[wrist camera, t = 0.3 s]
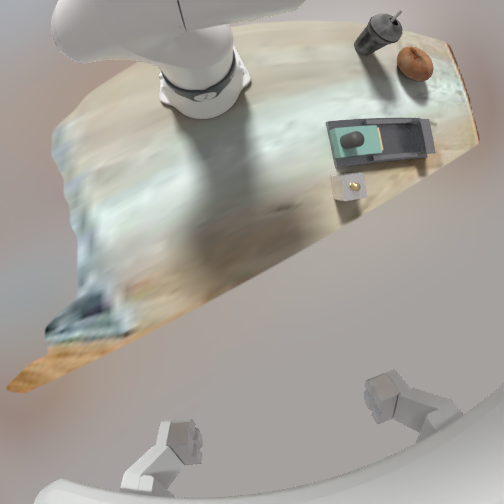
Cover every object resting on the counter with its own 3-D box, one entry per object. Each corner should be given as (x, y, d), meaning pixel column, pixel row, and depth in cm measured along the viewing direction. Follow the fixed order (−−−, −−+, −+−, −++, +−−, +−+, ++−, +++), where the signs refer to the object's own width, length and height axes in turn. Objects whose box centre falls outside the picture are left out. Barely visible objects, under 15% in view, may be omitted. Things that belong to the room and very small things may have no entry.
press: (325, 122, 51) (336, 116, 45) (417, 118, 51) (432, 115, 46) (335, 167, 54) (346, 167, 48) (425, 157, 54) (440, 157, 48)
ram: (329, 130, 50) (344, 123, 43) (372, 127, 51) (391, 121, 43) (335, 158, 52) (351, 155, 44) (377, 153, 52) (397, 151, 45)
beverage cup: (379, 60, 47) (426, 30, 28) (354, 59, 47) (398, 24, 28) (369, 36, 45) (412, 2, 26) (344, 35, 45) (383, -5, 26)
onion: (388, 66, 50) (391, 45, 41) (412, 55, 47) (417, 34, 37) (412, 93, 49) (419, 74, 40) (436, 80, 46) (444, 61, 36)
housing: (329, 175, 54) (343, 175, 47) (350, 172, 54) (366, 172, 47) (333, 198, 55) (347, 202, 48) (354, 195, 55) (369, 197, 48)
